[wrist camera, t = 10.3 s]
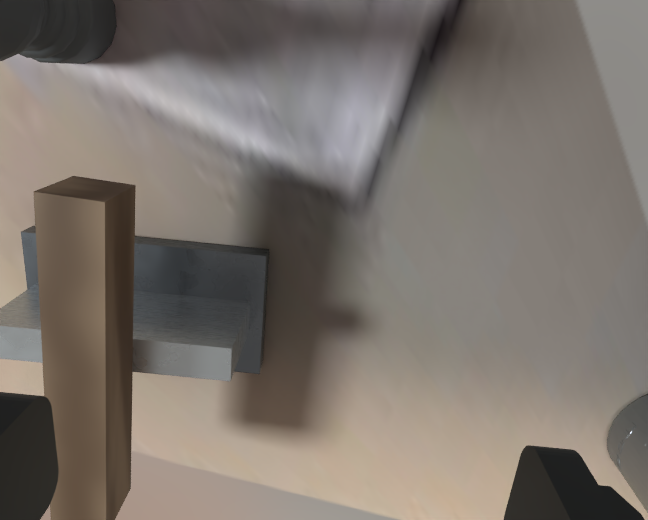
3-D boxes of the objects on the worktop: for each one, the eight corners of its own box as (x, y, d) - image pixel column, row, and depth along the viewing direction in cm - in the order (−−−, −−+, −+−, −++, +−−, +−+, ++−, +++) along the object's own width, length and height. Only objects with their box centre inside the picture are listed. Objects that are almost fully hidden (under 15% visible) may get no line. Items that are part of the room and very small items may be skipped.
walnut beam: (135, 185, 29) (104, 202, 26) (130, 488, 37) (106, 536, 33) (73, 176, 29) (33, 191, 25) (81, 481, 37) (51, 528, 33)
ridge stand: (269, 249, 39) (250, 295, 31) (262, 363, 43) (243, 431, 35) (32, 226, 39) (-47, 265, 31) (45, 342, 43) (-24, 404, 35)
